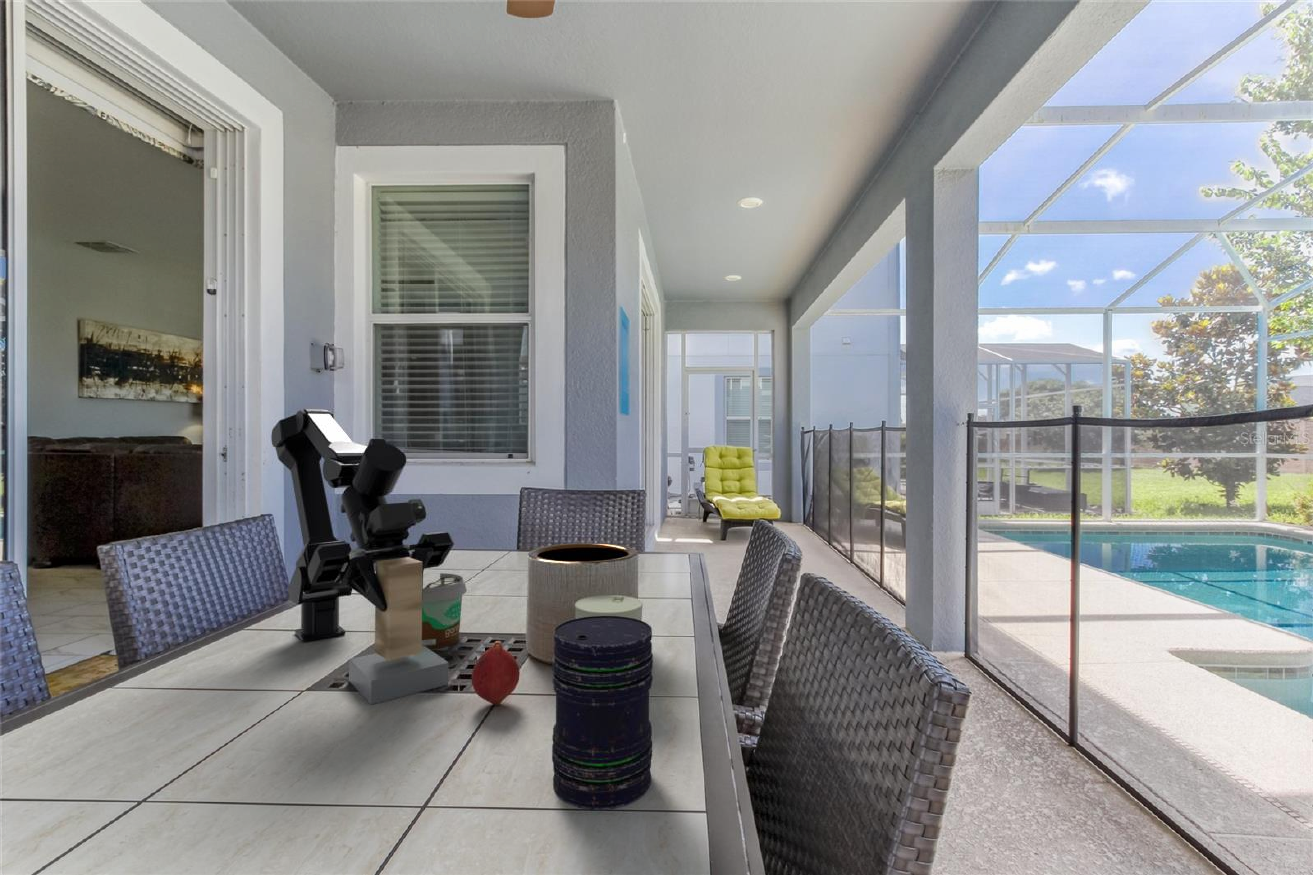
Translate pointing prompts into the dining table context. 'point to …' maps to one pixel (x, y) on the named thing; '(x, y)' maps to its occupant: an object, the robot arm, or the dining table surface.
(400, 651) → the oak block
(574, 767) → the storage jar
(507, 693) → the onion
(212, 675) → the dining table surface
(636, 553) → the planter
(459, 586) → the food container
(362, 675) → the plate
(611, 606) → the can
